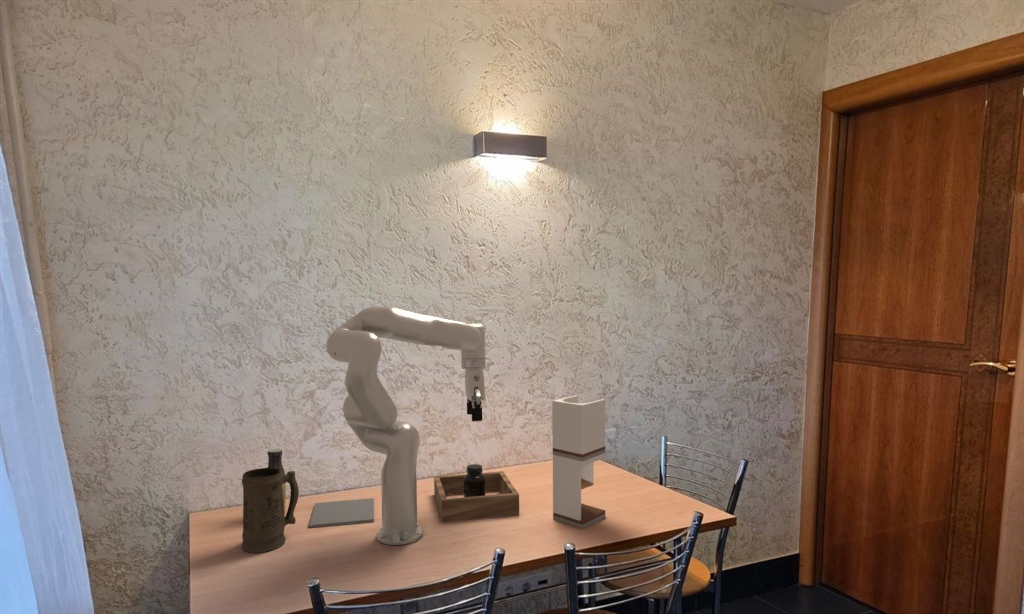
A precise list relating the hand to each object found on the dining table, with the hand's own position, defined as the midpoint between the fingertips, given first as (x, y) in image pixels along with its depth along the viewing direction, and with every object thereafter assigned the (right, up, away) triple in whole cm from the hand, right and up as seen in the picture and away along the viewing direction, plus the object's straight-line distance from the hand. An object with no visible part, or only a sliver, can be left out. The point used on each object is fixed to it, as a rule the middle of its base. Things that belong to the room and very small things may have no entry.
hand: (474, 417), depth 189 cm
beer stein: (-53, -29, -26) cm, 66 cm away
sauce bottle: (-60, -28, -8) cm, 66 cm away
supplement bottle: (0, -28, +1) cm, 28 cm away
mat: (-39, -28, -6) cm, 49 cm away
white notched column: (+32, -28, -11) cm, 44 cm away
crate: (0, -27, +1) cm, 27 cm away
